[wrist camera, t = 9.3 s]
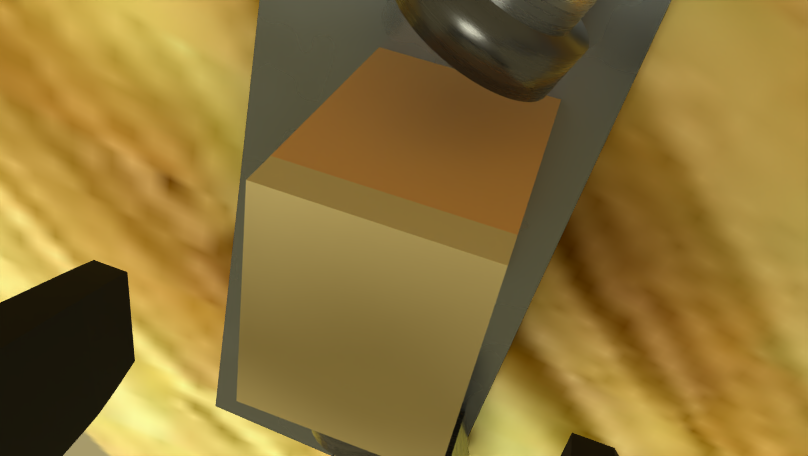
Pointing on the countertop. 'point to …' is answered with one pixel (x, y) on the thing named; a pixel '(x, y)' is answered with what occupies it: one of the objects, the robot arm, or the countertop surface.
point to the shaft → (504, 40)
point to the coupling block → (384, 252)
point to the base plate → (387, 28)
